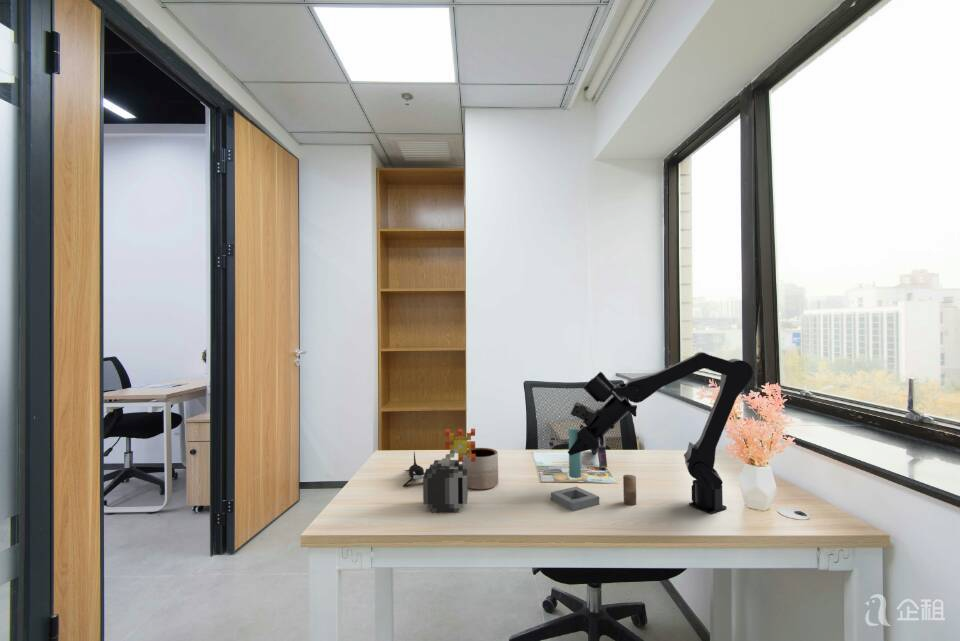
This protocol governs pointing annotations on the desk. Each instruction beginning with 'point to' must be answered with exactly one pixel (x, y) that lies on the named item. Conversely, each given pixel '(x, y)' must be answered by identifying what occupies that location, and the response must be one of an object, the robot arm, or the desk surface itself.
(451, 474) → the bomb
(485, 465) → the planter
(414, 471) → the toy
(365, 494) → the desk surface
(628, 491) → the walnut pin
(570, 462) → the teal pin
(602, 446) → the toy gun
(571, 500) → the socket block
